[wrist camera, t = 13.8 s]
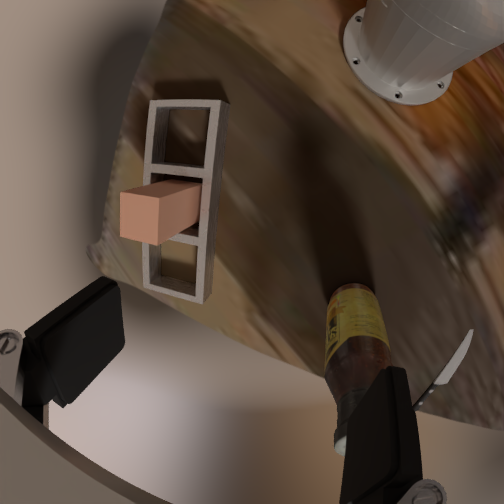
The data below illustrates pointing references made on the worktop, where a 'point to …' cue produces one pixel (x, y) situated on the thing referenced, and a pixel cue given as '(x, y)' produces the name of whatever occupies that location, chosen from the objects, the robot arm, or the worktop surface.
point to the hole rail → (209, 199)
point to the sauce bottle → (353, 351)
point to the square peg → (159, 210)
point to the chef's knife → (447, 369)
